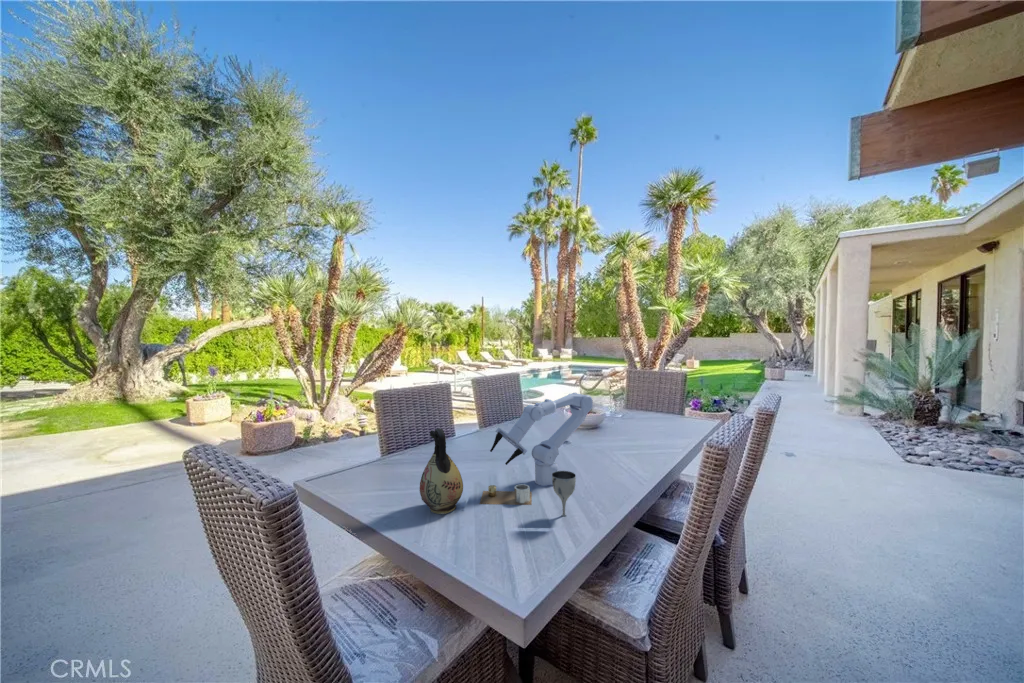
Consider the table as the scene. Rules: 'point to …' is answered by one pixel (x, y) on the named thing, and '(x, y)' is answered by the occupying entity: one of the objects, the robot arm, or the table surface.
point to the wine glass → (563, 486)
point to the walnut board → (502, 498)
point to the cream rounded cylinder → (492, 491)
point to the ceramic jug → (441, 478)
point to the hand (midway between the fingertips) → (498, 457)
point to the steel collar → (522, 494)
